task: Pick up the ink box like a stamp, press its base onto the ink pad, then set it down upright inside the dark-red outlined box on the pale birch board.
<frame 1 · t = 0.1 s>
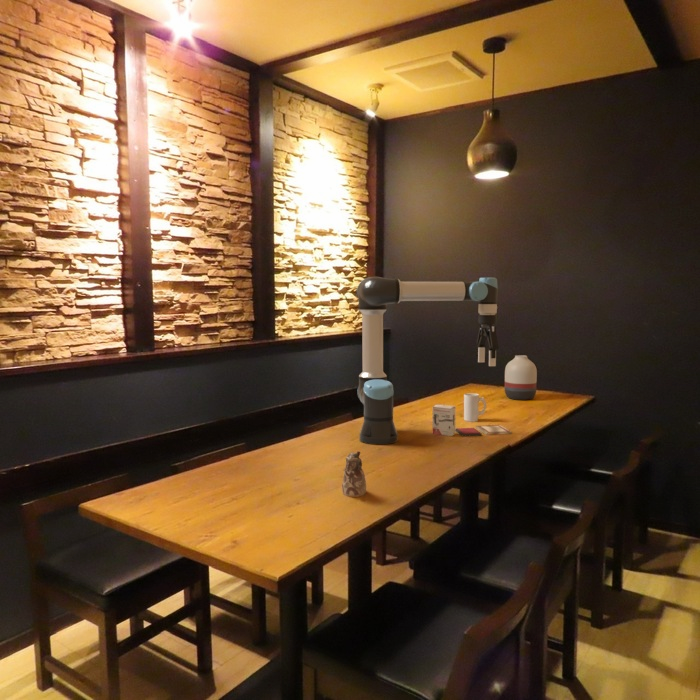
hand: (486, 364, 254), 28 cm above the table, fingers open, 13 cm apart
figurine: (354, 493, 175), on the table
ink pad: (468, 433, 248), on the table
ink box: (443, 434, 247), on the table
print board: (493, 430, 253), on the table
mug: (474, 420, 273), on the table
vase: (520, 398, 330), on the table
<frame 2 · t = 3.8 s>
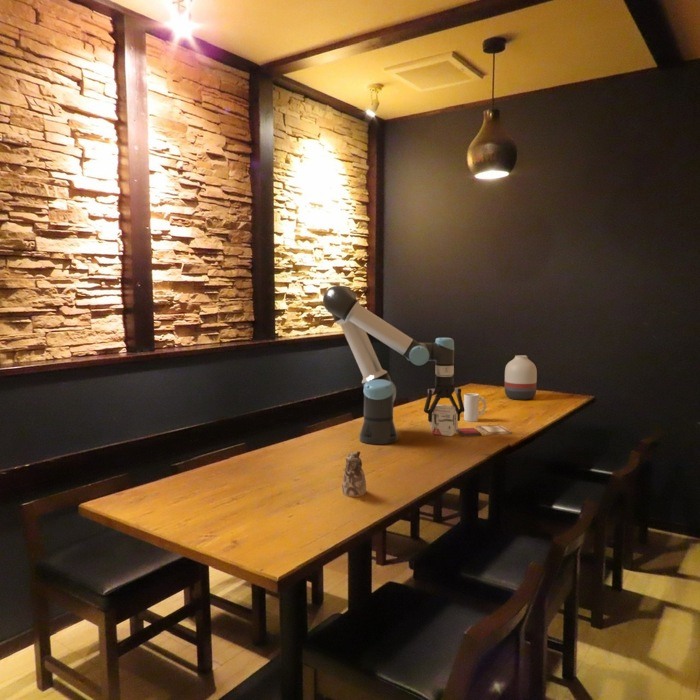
hand: (443, 429, 247), 2 cm above the table, fingers closed on ink box, 9 cm apart
ink box: (443, 434, 247), on the table, touching gripper
everything else where it was.
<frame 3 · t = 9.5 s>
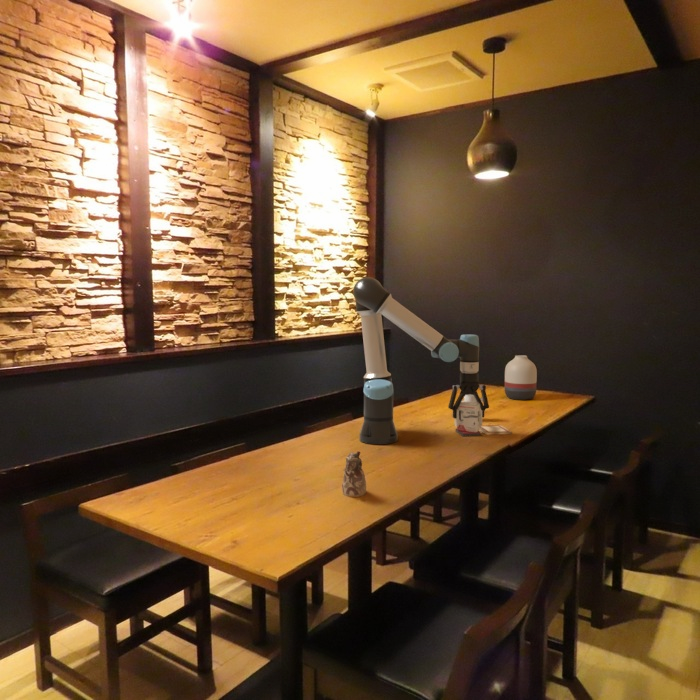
hand: (468, 425, 248), 3 cm above the table, fingers closed on ink box, 9 cm apart
ink box: (468, 430, 248), point 1 cm above the table, touching gripper, ink pad
everything else where it was.
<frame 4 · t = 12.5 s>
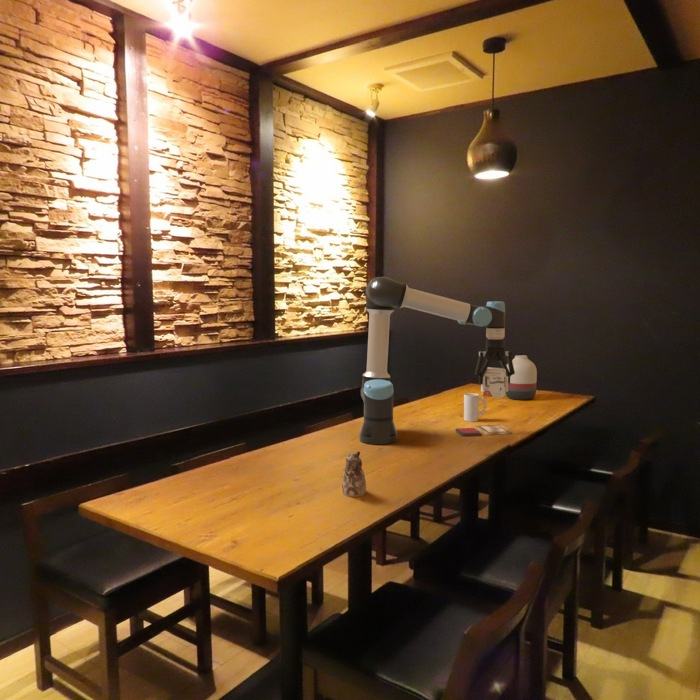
hand: (494, 391, 251), 17 cm above the table, fingers closed on ink box, 9 cm apart
ink box: (494, 396, 251), point 15 cm above the table, touching gripper
everything else where it was.
when the fingers open (4 cm above the table, at t = 15.2 s): ink box stays where it is, resting on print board.
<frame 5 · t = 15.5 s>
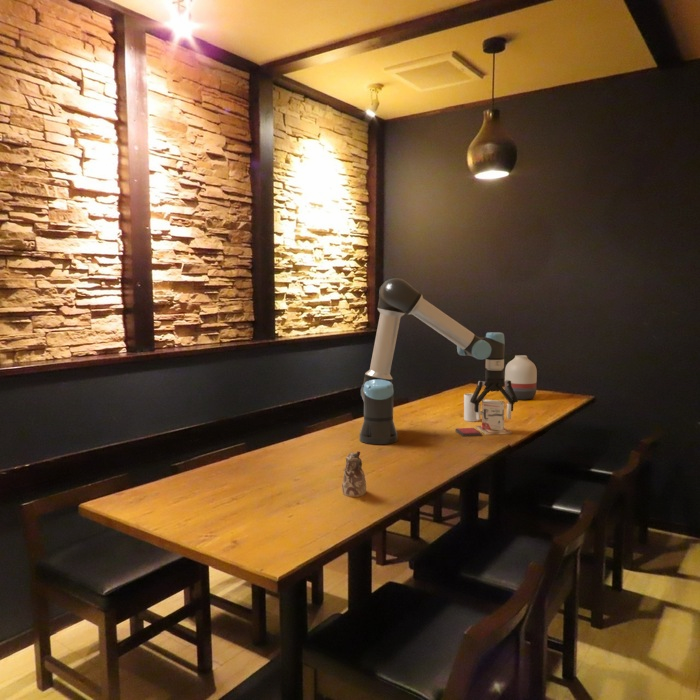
hand: (493, 419, 252), 5 cm above the table, fingers open, 13 cm apart
ink box: (492, 429, 253), point 1 cm above the table, touching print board
everything else where it was.
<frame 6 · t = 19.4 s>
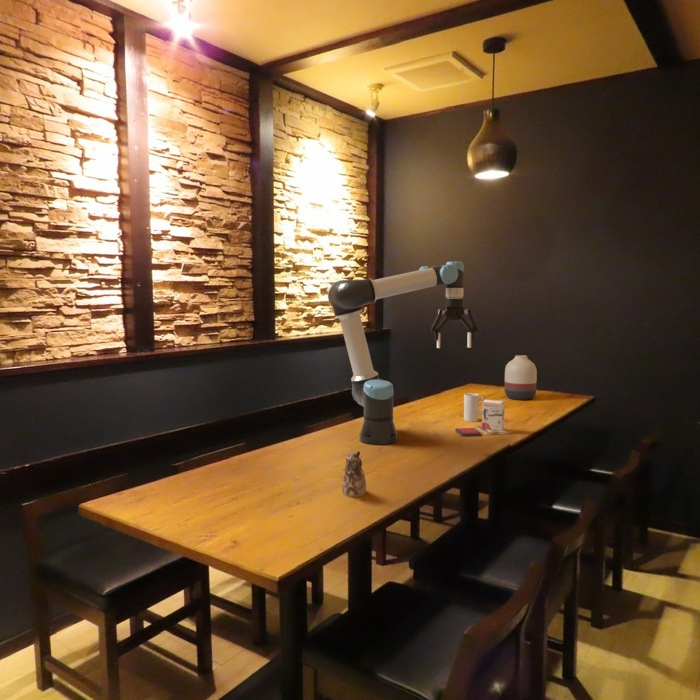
hand: (453, 347, 256), 35 cm above the table, fingers open, 13 cm apart
nothing on the table moved.
at the end: ink box inside the target area on the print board (0.2 cm from its centre), point 0.7 cm above the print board's base; ink box tilted 0°; the gripper is holding nothing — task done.
